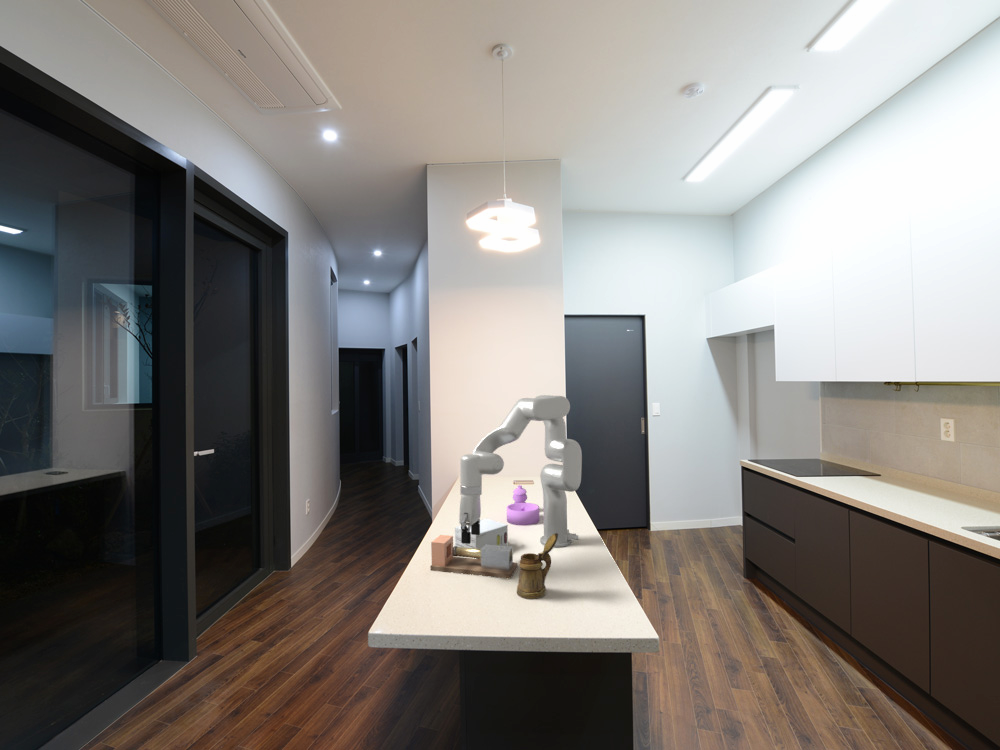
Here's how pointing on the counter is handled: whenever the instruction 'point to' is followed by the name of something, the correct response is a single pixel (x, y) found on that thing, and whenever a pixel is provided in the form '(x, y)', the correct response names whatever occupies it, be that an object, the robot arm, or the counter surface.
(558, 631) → the counter surface
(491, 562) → the sleeve
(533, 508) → the container set
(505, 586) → the counter surface
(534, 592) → the wooden mug
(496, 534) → the supplement box
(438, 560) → the socket block
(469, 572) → the base board
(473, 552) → the tube
